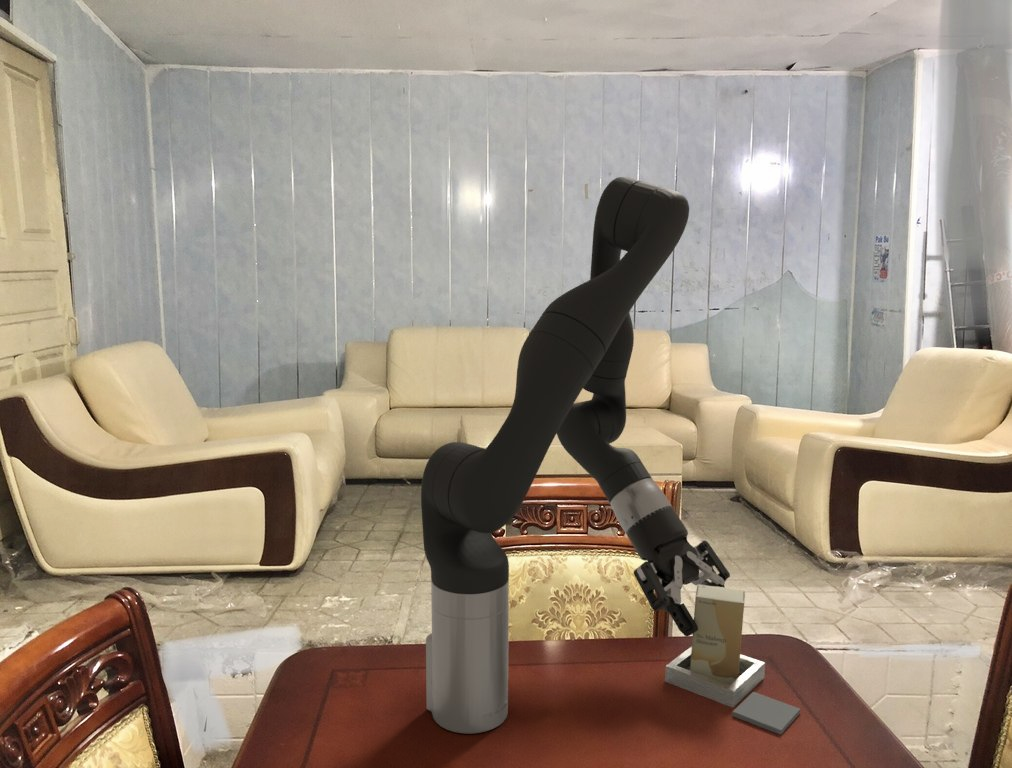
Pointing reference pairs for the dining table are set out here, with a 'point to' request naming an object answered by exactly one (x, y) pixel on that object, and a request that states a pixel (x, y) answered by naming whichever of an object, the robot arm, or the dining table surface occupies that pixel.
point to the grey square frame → (711, 688)
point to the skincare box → (717, 633)
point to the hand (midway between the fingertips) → (712, 623)
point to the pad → (766, 712)
